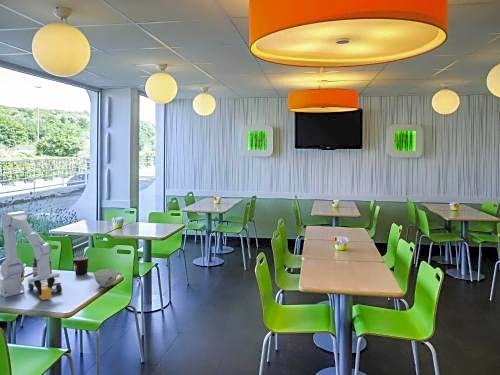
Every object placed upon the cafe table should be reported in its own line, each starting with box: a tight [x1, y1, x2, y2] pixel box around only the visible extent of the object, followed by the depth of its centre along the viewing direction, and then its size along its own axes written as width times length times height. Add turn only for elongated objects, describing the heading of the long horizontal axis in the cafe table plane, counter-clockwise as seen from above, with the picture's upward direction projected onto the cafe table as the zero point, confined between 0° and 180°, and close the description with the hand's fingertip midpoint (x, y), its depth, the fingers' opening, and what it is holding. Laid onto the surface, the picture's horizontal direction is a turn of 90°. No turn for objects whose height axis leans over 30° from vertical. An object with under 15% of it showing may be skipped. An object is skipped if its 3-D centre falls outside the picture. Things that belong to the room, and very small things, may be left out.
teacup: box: [93, 268, 123, 288], centre depth 240 cm, size 15×12×8 cm
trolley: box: [27, 279, 63, 296], centre depth 231 cm, size 11×20×5 cm, turn 44°
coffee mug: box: [72, 256, 89, 277], centre depth 262 cm, size 12×9×10 cm
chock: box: [38, 286, 53, 301], centre depth 218 cm, size 4×6×5 cm, turn 44°
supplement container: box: [31, 255, 53, 278], centre depth 259 cm, size 10×10×12 cm
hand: (44, 293), depth 218 cm, fingers closed on chock, 4 cm apart
